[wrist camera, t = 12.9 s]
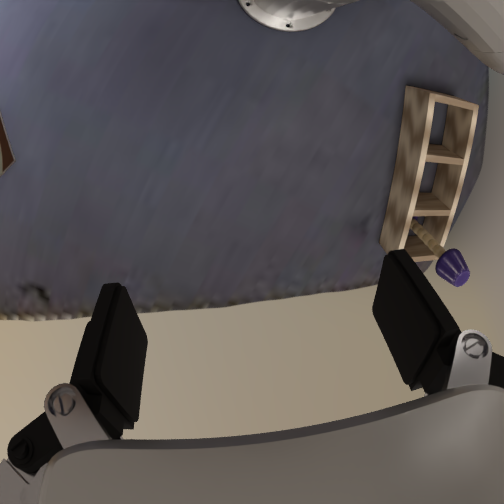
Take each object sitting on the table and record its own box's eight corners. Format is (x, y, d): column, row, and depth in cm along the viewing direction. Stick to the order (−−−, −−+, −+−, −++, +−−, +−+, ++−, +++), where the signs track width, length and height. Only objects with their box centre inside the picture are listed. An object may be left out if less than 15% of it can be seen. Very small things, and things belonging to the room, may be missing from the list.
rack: (405, 85, 36) (429, 92, 31) (456, 96, 37) (480, 106, 32) (378, 242, 51) (393, 263, 47) (424, 239, 52) (441, 259, 47)
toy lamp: (418, 201, 47) (477, 260, 34) (418, 223, 50) (472, 285, 36) (394, 209, 48) (449, 273, 34) (396, 232, 51) (446, 297, 37)
